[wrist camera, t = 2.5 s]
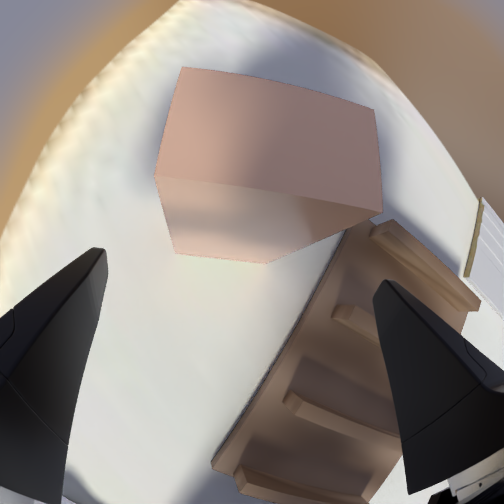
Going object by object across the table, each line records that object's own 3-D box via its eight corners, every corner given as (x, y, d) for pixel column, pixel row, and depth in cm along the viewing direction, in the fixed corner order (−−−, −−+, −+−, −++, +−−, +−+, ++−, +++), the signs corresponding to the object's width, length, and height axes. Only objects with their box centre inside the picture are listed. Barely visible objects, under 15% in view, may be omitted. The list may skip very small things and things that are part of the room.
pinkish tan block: (266, 263, 20) (383, 212, 8) (175, 253, 19) (154, 175, 7) (269, 213, 21) (373, 109, 8) (182, 201, 20) (181, 66, 7)
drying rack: (358, 502, 19) (377, 520, 16) (211, 462, 17) (216, 488, 14) (462, 306, 24) (489, 305, 20) (352, 216, 22) (378, 203, 19)
